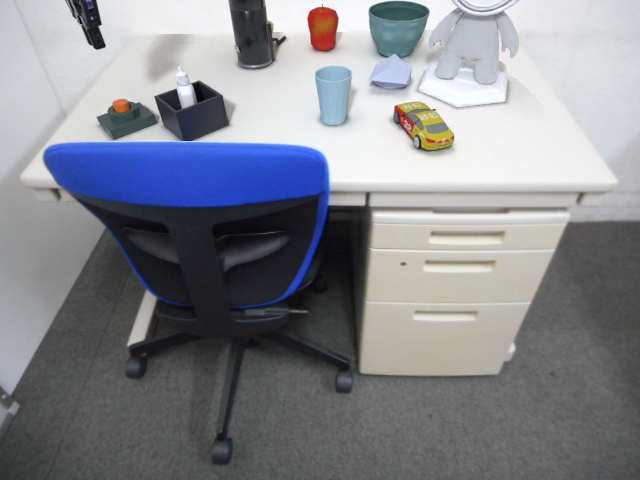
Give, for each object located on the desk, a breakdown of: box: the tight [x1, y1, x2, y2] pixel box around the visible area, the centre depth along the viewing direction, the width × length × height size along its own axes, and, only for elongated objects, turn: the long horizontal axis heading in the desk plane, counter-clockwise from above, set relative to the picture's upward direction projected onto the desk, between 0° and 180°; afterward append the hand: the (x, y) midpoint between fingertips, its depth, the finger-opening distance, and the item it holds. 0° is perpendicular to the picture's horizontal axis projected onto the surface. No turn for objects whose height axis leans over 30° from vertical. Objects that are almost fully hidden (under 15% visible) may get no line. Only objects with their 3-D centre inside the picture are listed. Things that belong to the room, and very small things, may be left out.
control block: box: [96, 100, 158, 140], centre depth 91 cm, size 10×8×4 cm
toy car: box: [393, 101, 455, 151], centre depth 85 cm, size 8×17×5 cm, turn 16°
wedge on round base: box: [368, 54, 413, 90], centre depth 101 cm, size 9×7×13 cm
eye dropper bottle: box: [174, 65, 197, 109], centre depth 87 cm, size 4×6×12 cm
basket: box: [153, 80, 230, 142], centre depth 89 cm, size 11×10×7 cm
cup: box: [314, 65, 353, 126], centre depth 88 cm, size 8×8×10 cm
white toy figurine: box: [418, 0, 520, 108], centre depth 89 cm, size 20×23×35 cm
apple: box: [306, 3, 340, 52], centre depth 116 cm, size 9×8×12 cm
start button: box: [111, 98, 130, 113], centre depth 89 cm, size 3×3×2 cm
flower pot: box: [367, 0, 431, 58], centre depth 114 cm, size 16×16×11 cm
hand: (97, 45), depth 80 cm, fingers closed
